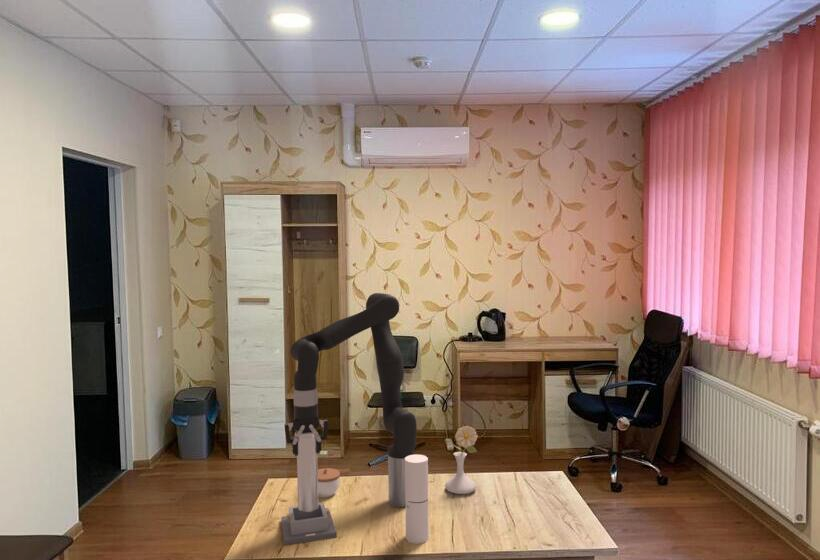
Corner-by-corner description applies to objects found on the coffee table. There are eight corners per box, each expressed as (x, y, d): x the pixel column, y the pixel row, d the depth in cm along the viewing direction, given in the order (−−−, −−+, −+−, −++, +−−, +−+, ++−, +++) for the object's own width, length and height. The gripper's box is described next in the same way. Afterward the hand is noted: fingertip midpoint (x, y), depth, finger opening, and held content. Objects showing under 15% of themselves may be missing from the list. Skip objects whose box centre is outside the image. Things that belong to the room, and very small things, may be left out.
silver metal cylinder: (314, 513, 177) (312, 435, 176) (294, 511, 179) (292, 434, 178) (321, 504, 184) (319, 428, 183) (302, 502, 185) (300, 427, 184)
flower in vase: (439, 492, 208) (438, 425, 207) (455, 482, 217) (454, 418, 216) (470, 500, 201) (469, 431, 200) (485, 489, 210) (484, 423, 209)
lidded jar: (318, 502, 201) (317, 477, 200) (306, 492, 210) (306, 467, 209) (345, 495, 206) (344, 470, 206) (332, 485, 215) (332, 461, 215)
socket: (329, 514, 191) (329, 498, 191) (336, 536, 176) (336, 519, 176) (281, 521, 187) (281, 505, 187) (284, 544, 172) (284, 527, 171)
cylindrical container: (421, 545, 170) (420, 464, 169) (401, 539, 174) (400, 460, 173) (433, 535, 176) (432, 457, 175) (413, 529, 180) (412, 453, 179)
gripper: (326, 397, 185) (327, 447, 186) (282, 401, 181) (283, 452, 182) (329, 403, 178) (331, 455, 179) (283, 407, 174) (284, 460, 175)
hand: (306, 453), depth 181 cm, fingers closed on silver metal cylinder, 6 cm apart
